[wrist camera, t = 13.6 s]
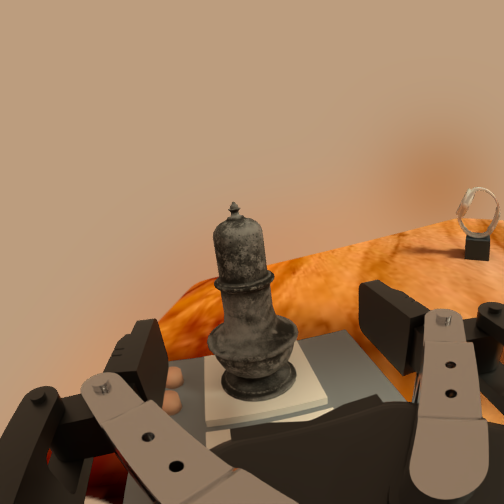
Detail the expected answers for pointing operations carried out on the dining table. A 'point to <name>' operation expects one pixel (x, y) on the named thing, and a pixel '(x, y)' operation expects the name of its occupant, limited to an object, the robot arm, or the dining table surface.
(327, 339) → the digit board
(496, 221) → the watch
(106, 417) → the robot arm
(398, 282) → the dining table surface
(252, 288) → the salt shaker
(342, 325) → the dining table surface
